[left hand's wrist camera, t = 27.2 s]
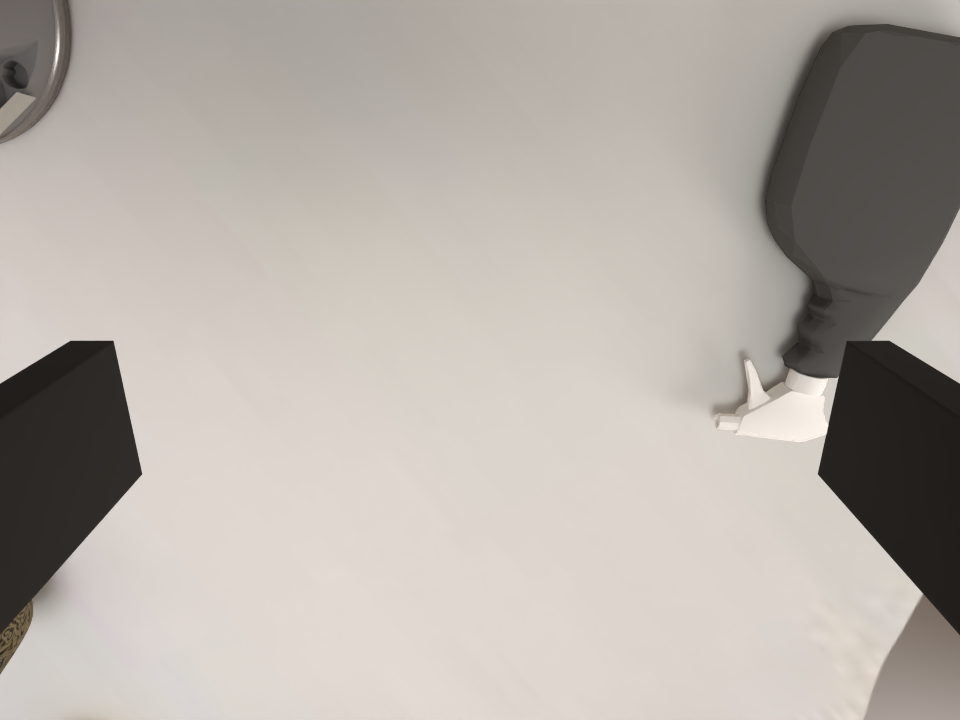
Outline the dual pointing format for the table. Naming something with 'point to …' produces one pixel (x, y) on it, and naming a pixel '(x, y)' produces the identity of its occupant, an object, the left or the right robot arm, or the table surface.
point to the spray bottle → (858, 204)
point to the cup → (14, 634)
